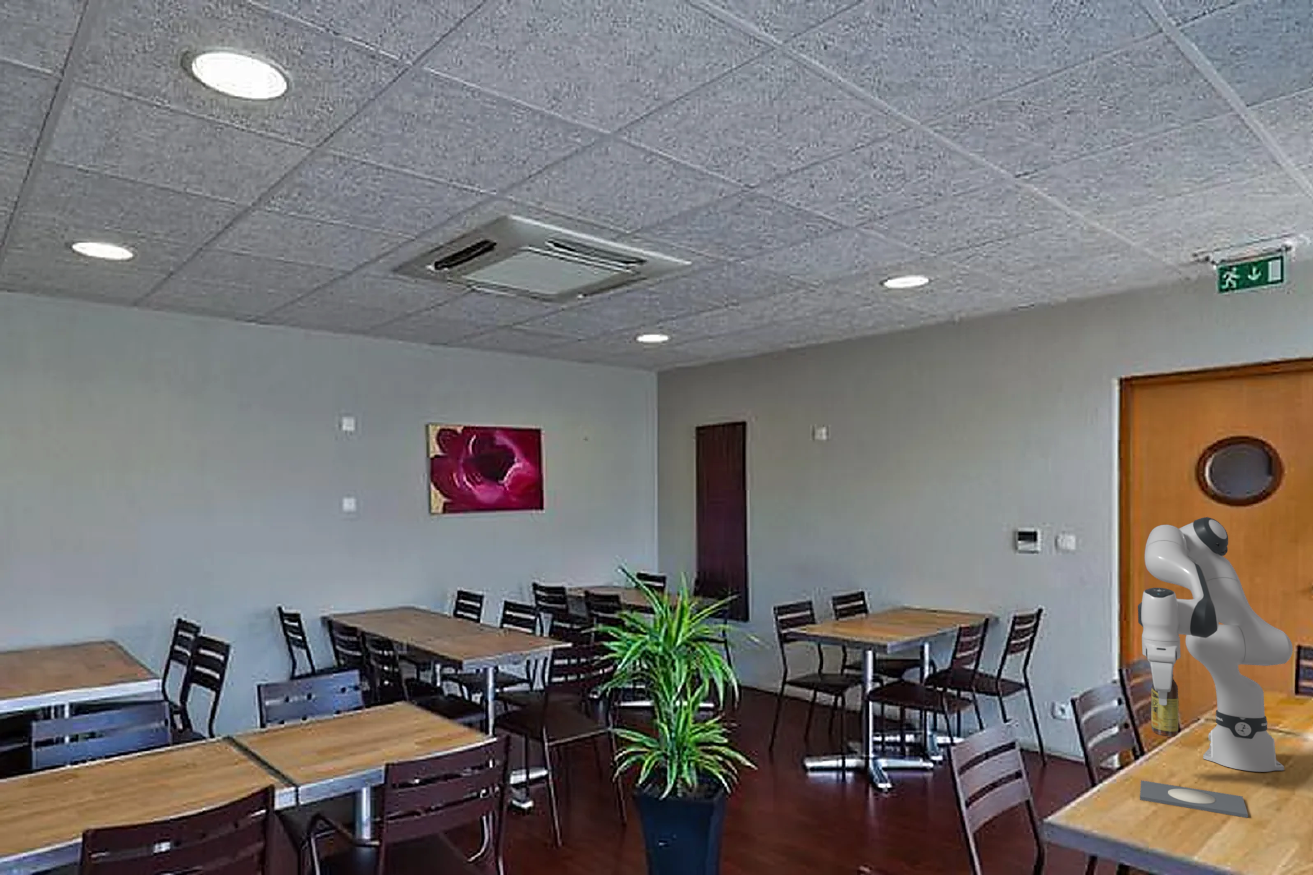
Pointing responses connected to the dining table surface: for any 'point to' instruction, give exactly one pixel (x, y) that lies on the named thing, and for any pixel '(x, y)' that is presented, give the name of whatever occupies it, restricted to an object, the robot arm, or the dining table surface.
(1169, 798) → the mat
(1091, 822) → the dining table surface
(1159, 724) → the sauce bottle
